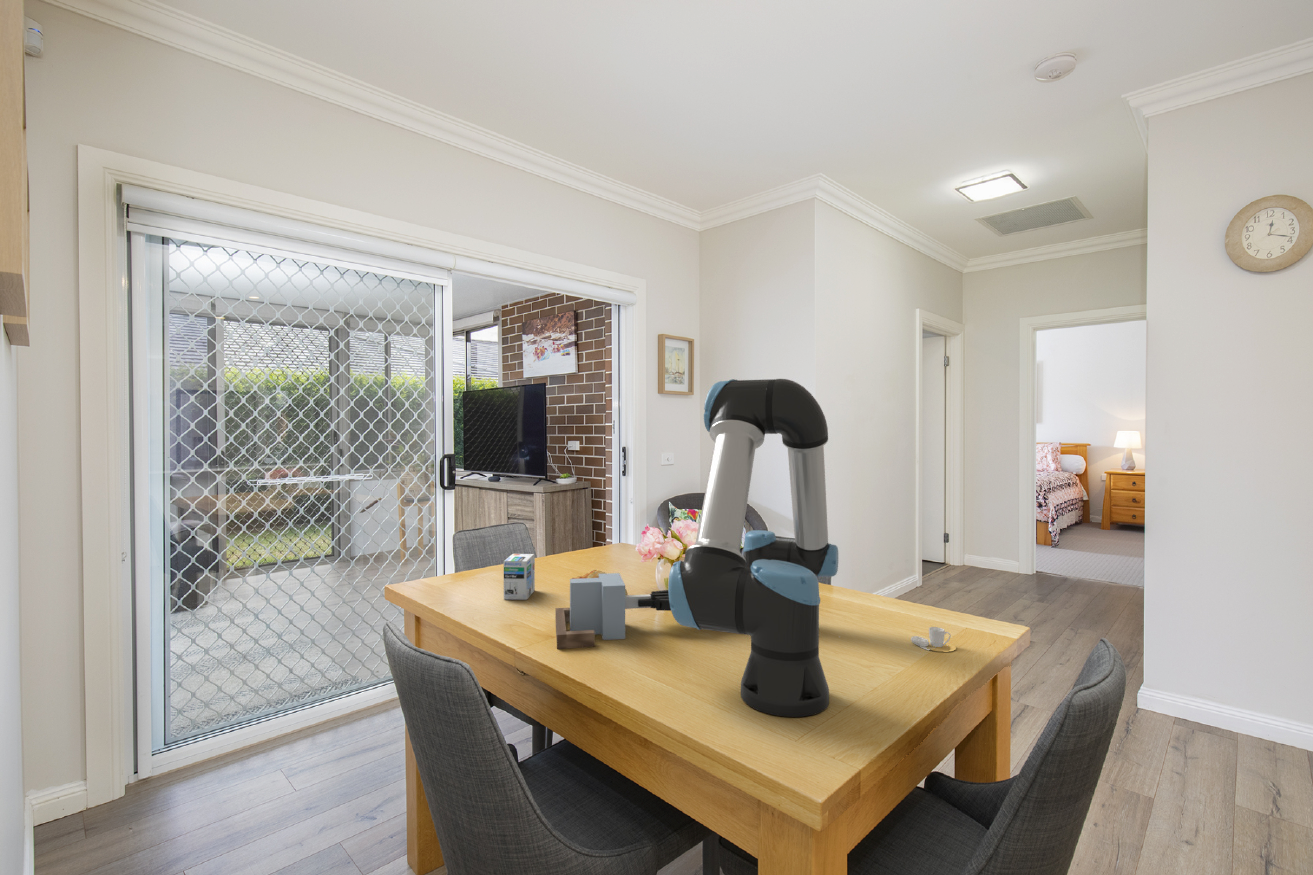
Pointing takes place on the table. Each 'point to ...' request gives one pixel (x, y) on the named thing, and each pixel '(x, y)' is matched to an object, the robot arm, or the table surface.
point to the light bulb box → (519, 576)
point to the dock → (571, 632)
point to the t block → (598, 605)
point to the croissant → (594, 576)
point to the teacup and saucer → (931, 638)
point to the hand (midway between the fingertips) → (623, 602)
